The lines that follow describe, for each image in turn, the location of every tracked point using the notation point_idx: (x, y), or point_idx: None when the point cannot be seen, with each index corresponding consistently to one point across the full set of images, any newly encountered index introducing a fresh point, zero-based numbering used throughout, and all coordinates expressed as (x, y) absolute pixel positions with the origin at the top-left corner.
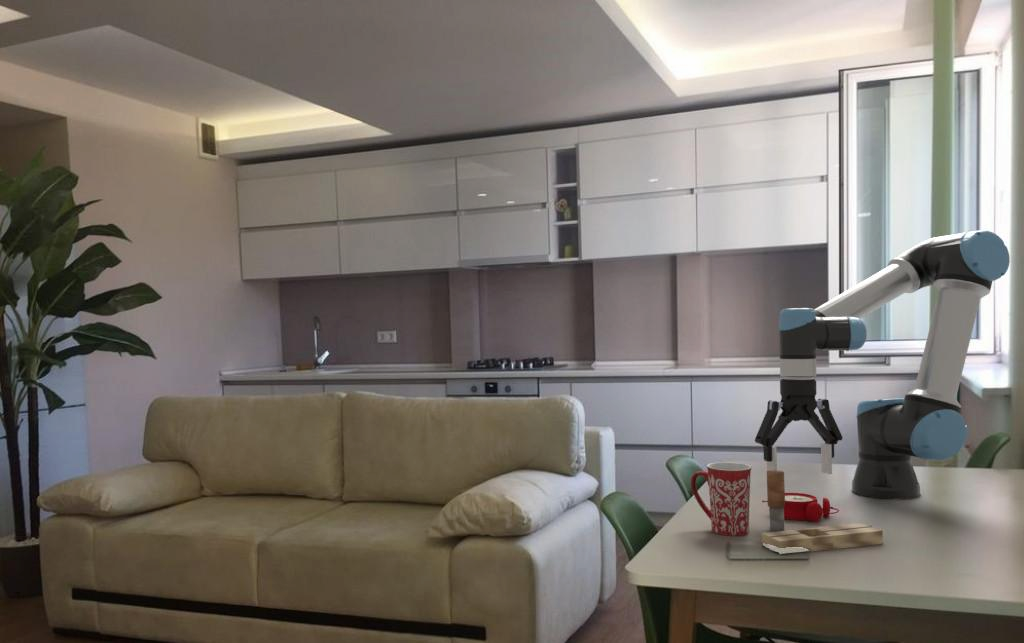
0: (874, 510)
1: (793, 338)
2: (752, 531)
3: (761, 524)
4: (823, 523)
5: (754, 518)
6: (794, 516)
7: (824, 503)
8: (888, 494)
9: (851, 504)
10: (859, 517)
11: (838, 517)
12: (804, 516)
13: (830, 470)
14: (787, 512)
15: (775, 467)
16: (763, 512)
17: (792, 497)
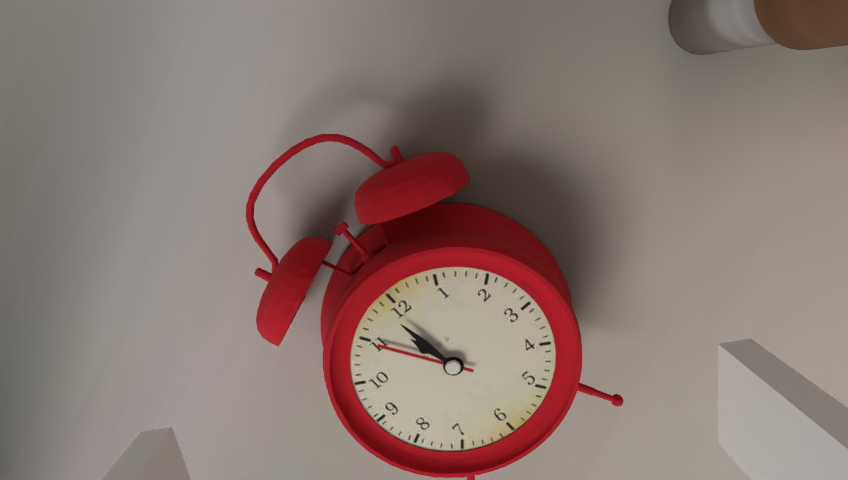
0: (3, 336)
1: None
2: None
3: (713, 161)
4: (387, 120)
5: (681, 284)
6: (507, 222)
7: (310, 261)
8: None
9: (79, 465)
10: (139, 210)
11: None
12: (455, 211)
13: (138, 452)
14: (536, 253)
15: (804, 394)
16: None
17: (448, 402)
